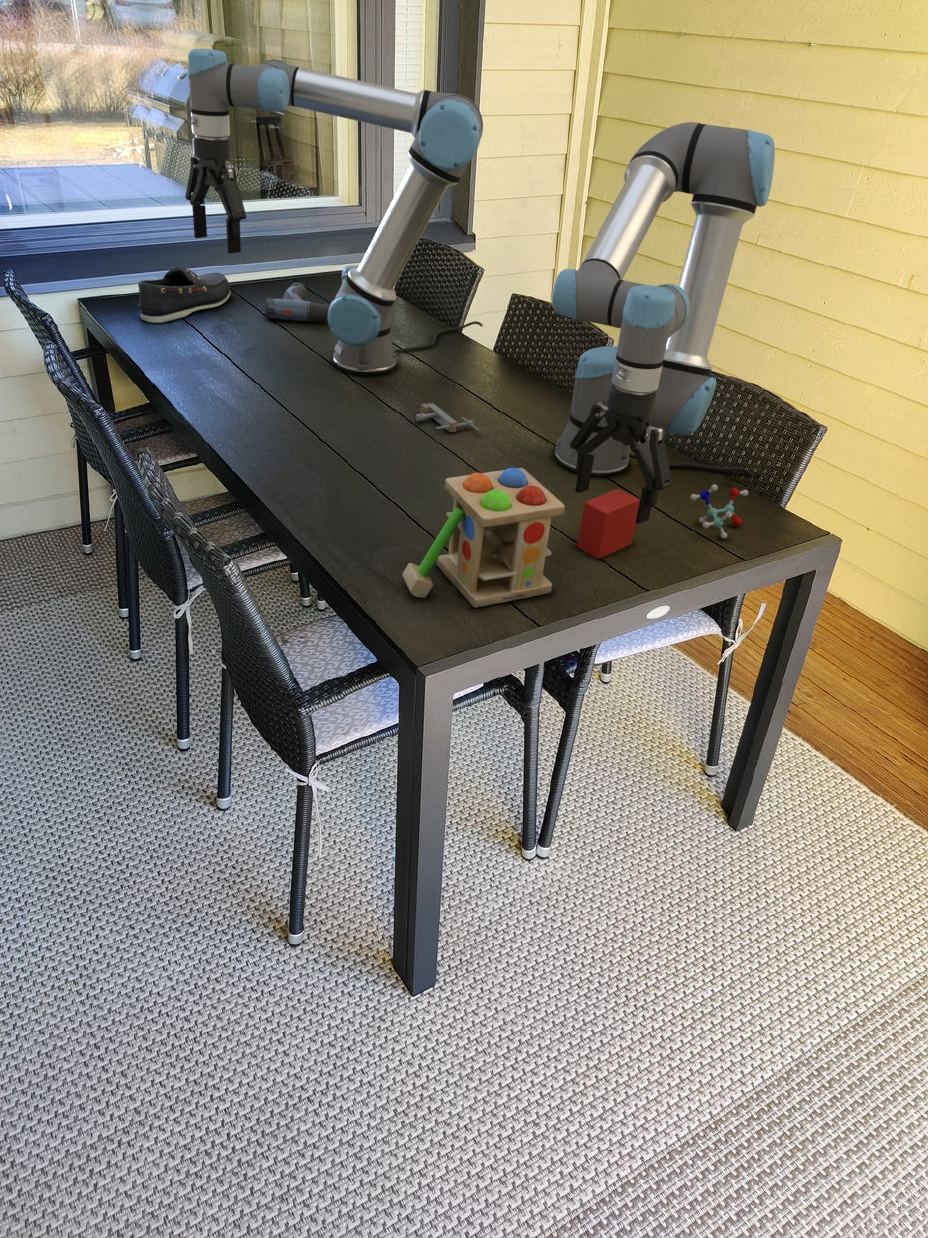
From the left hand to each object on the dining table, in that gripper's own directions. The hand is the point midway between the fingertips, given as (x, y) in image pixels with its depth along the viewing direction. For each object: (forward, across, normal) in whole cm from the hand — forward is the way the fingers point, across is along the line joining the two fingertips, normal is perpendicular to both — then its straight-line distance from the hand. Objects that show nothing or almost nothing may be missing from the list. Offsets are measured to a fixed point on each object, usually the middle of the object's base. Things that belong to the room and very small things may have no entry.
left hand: (217, 244), depth 212 cm
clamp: (+28, +51, +23) cm, 63 cm away
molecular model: (+28, +113, +35) cm, 122 cm away
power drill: (+28, -26, +41) cm, 56 cm away
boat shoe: (+28, -45, +16) cm, 55 cm away
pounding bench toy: (+28, +101, -16) cm, 106 cm away
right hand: (+20, +106, +12) cm, 109 cm away
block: (+28, +106, +12) cm, 110 cm away
